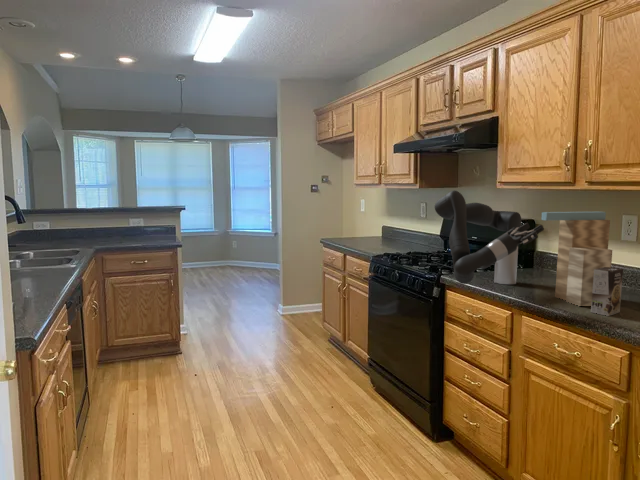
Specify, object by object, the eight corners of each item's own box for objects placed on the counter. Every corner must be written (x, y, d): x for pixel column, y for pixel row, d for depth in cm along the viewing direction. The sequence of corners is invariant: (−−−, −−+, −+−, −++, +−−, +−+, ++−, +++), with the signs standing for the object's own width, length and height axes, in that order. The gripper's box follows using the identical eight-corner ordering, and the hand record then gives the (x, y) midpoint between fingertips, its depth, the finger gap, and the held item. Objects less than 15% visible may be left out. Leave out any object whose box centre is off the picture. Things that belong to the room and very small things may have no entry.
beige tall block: (580, 307, 184) (584, 250, 182) (566, 301, 192) (569, 247, 190) (608, 305, 186) (612, 249, 184) (593, 300, 194) (596, 247, 192)
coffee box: (609, 316, 172) (612, 271, 170) (590, 312, 177) (593, 268, 175) (620, 312, 177) (624, 268, 175) (602, 308, 182) (605, 266, 180)
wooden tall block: (568, 301, 192) (573, 220, 188) (555, 296, 200) (560, 219, 196) (604, 300, 195) (610, 220, 191) (589, 295, 203) (595, 218, 199)
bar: (546, 220, 189) (546, 212, 189) (541, 219, 192) (541, 212, 192) (605, 219, 194) (605, 212, 193) (599, 219, 197) (600, 211, 196)
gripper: (506, 241, 175) (543, 218, 176) (486, 237, 189) (520, 216, 190) (515, 259, 176) (551, 236, 178) (494, 253, 190) (528, 232, 192)
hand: (535, 225), depth 184 cm, fingers open, 8 cm apart
